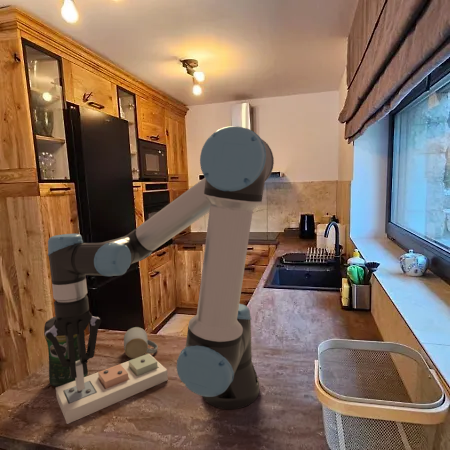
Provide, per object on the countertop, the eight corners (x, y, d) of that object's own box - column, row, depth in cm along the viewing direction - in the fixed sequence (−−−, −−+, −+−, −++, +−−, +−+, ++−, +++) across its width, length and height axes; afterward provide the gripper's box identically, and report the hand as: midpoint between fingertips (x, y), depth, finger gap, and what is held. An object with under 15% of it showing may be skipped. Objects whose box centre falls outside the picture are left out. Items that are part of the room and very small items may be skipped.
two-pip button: (128, 383, 86) (127, 372, 85) (106, 393, 82) (105, 381, 82) (120, 373, 91) (120, 363, 90) (99, 382, 87) (98, 371, 87)
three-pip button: (96, 402, 81) (95, 390, 80) (70, 413, 77) (69, 401, 77) (89, 391, 86) (88, 380, 85) (65, 401, 82) (64, 389, 82)
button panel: (167, 380, 90) (167, 369, 89) (66, 424, 74) (65, 412, 74) (149, 362, 99) (149, 353, 99) (56, 398, 83) (55, 387, 83)
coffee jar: (92, 371, 95) (86, 311, 93) (78, 388, 87) (72, 323, 85) (60, 371, 96) (54, 312, 94) (44, 388, 88) (37, 323, 86)
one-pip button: (157, 371, 91) (157, 360, 91) (137, 380, 87) (136, 368, 87) (148, 363, 96) (148, 352, 95) (129, 370, 92) (128, 359, 92)
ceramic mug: (124, 362, 100) (123, 339, 99) (124, 350, 107) (123, 328, 107) (159, 356, 103) (158, 333, 102) (156, 345, 111) (155, 323, 110)
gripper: (94, 288, 85) (102, 371, 88) (38, 300, 77) (48, 391, 80) (102, 294, 79) (111, 383, 82) (43, 308, 71) (54, 406, 74)
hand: (80, 387), depth 81 cm, fingers closed
